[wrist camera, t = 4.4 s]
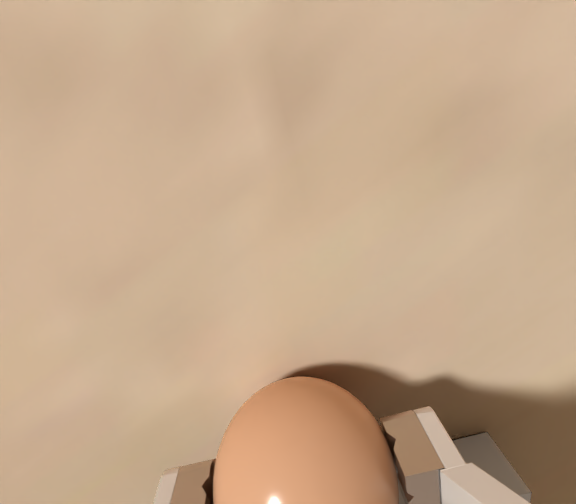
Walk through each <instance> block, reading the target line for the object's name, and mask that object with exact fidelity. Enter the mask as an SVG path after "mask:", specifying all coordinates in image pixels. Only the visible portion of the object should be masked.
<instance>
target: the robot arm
mask: <svg viewBox="0 0 576 504" xmlns="http://www.w3.org/2000/svg"><path fill="white" fill-rule="evenodd" d="M380 426H381V429H382V431H383V433H384V435H385V437H386V440H387V442H388V444H389V446H390V449H391V452H392V455H393V459H394V462H395V467H396V472H397V476H398V483H399V489H400V492H401V494H402V497H403V499H404V502H405V504H531V503H529V502H528V501H526V500H525V499H524V498H522V497H521V496H519V495H518V494H516V493H515V492H514V491H512V490H511V489H509V488H508V487H506V486H505V485H504V484H502V483H501V482H499V481H498V480H496V479H495V478H494V477H492V476H491V475H489V474H488V473H486V472H485V471H483V470H482V469H481V468H479V467H478V466H476V465H475V464H473V463H472V462H471V463H466V462H465V461H464V459H463V457H462V456H461V454H460V452H459V451H458V449H457V447H456V446H455V444H454V443H453V441H452V439H451V438H450V436H449V434H448V433H447V431H446V430H445V428H444V426H443V425H442V423H441V421H440V420H439V418H438V417H437V415H436V413H435V412H434V410H433V409H432V408H431V407H430V406H426V407H422V408H419V409H415V410H409V411H405V412H401V413H397V414H393V415H390V416H386V417H382V418H380ZM215 463H216V459H211V460H207V461H203V462H198V463H194V464H190V465H185V466H180V467H176V468H172V469H168V470H165V471H164V473H163V475H162V476H161V478H160V482H159V485H158V488H157V492H156V495H155V499H154V502H153V504H213V475H214V468H215Z"/></svg>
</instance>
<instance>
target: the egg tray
mask: <svg viewBox="0 0 576 504" xmlns="http://www.w3.org/2000/svg"><path fill="white" fill-rule="evenodd" d="M452 441H453V443H454V444H455V446H456V447H457V449H458V451H459V452H460V454H461V456H462V457H463V459H464V461H465V462H466V463H471V462H472V463H473V464H475V465H476V466H478V467H479V468H481V469H482V470H483V471H485V472H486V473H488V474H489V475H491V476H492V477H494V478H495V479H496V480H498V481H499V482H501V483H502V484H504V485H505V486H506V487H508V488H509V489H511V490H512V491H514V492H515V493H516V494H518V495H519V496H521V497H522V498H524V499H525V500H526V501H528V502H529V503H530V500H531V493H532V492H531V491H530V490H529V488H528V487H527V486H526V484H525V483H524V482H523V480H522V479H521V477H520V476H519V475H518V473H517V472H516V471H515V469H514V468H513V467H512V465H511V464H510V463H509V461H508V460H507V459H506V457H505V456H504V454H503V453H502V452H501V450H500V449H499V448H498V446H497V445H496V444H495V442H494V441H493V440H492V438H491V437H490V436H489V434H488V433H487V432H486V433H481V434H477V435H473V436H469V437H465V438H461V439H457V440H452ZM397 477H398V476H397ZM398 489H399V483H398ZM399 504H405V502H404V499H403V497H402V494H401V492H400V489H399Z"/></svg>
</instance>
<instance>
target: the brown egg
mask: <svg viewBox="0 0 576 504" xmlns="http://www.w3.org/2000/svg"><path fill="white" fill-rule="evenodd" d="M213 504H399V489H398V477H397V472H396V467H395V462H394V459H393V455H392V452H391V449H390V446H389V444H388V442H387V440H386V437H385V435H384V433H383V431H382V429H381V427H380V426H379V424H378V422H377V421H376V419H375V418H374V417H373V415H372V414H371V413H370V411H369V410H368V409H367V408H366V407H365V406H364V404H363V403H361V402H360V401H359V400H358V399H357V398H356V397H355V396H354V395H352V394H351V393H350V392H348V391H347V390H345V389H344V388H342V387H340V386H338V385H336V384H334V383H332V382H329V381H326V380H323V379H319V378H314V377H291V378H286V379H282V380H279V381H276V382H274V383H271V384H269V385H268V386H266V387H264V388H262V389H261V390H259V391H258V392H256V393H255V394H254V395H253V396H251V397H250V398H249V399H248V400H247V401H246V402H245V403H244V404H243V405H242V406H241V408H240V409H239V410H238V411H237V413H236V414H235V416H234V417H233V419H232V420H231V422H230V423H229V425H228V427H227V429H226V431H225V433H224V436H223V438H222V441H221V444H220V447H219V449H218V453H217V458H216V463H215V468H214V475H213Z"/></svg>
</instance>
